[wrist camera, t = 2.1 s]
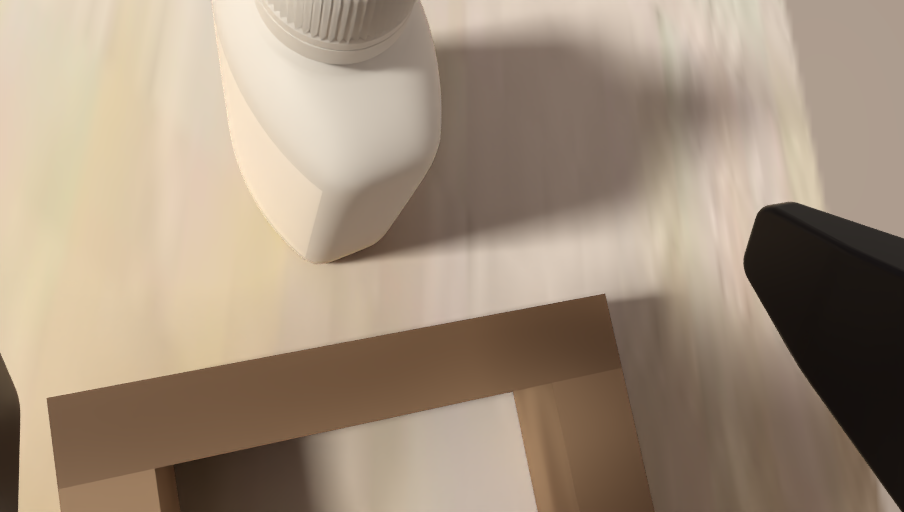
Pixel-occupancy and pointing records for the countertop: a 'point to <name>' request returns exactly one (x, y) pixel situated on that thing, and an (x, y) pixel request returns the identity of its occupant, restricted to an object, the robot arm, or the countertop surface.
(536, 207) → the countertop surface
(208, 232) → the countertop surface
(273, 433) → the socket block
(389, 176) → the eye dropper bottle
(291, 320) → the countertop surface
